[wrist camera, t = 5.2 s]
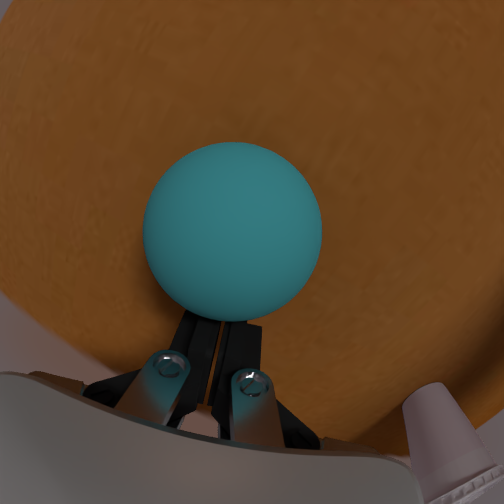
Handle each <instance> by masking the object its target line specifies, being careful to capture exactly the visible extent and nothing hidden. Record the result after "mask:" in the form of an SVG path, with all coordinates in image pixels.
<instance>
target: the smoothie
mask: <svg viewBox="0 0 504 504" xmlns="http://www.w3.org/2000/svg"><path fill="white" fill-rule="evenodd" d="M402 411H403V416H404V421H405V427H406V432H407V438H408V445H409V451H410V459H411V465H412V471H413V473H414V474H415V476H416V478H417V481H418V483H419V486H420V488H421V492H422V495H423V498H424V502H425V504H469V503H470V502H472V501H473V500H475V499H476V498H478V497H479V496H481V495H482V494H483V493H485V492H486V491H488V490H489V489H491V488H492V487H493V486H495V485H496V484H497V483H499V482H500V481H501V480H502V479H503V478H504V469H503V464H500V465H497V464H496V463H495V461H494V459H493V457H492V456H491V454H490V452H489V451H488V449H487V447H486V446H485V444H484V443H483V441H482V440H481V438H480V437H479V435H478V433H477V432H476V430H475V429H474V427H473V426H472V424H471V423H470V421H469V420H468V418H467V417H466V415H465V414H464V412H463V411H462V410H461V408H460V407H459V405H458V404H457V402H456V401H455V400H454V398H453V397H452V395H451V394H450V393H449V391H448V390H447V388H446V387H445V386H444V384H443V383H440V382H435V383H431V384H428V385H425V386H423V387H421V388H419V389H418V390H416V391H415V392H413V393H412V394H411V395H410V396H409V397H408V398H407V399H406V400H405V401H404V403H403V405H402Z"/></svg>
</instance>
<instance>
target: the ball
mask: <svg viewBox="0 0 504 504" xmlns="http://www.w3.org/2000/svg"><path fill="white" fill-rule="evenodd" d="M321 241H322V223H321V216H320V211H319V207H318V204H317V201H316V198H315V196H314V194H313V192H312V190H311V188H310V186H309V184H308V183H307V181H306V180H305V179H304V177H303V176H302V175H301V174H300V172H299V171H298V170H297V169H296V168H295V167H294V166H293V165H292V164H290V163H289V162H288V161H287V160H285V159H284V158H283V157H281V156H279V155H278V154H276V153H274V152H272V151H270V150H268V149H265V148H262V147H260V146H257V145H253V144H248V143H240V142H225V143H218V144H212V145H209V146H206V147H202V148H200V149H197V150H195V151H193V152H191V153H189V154H187V155H186V156H184V157H183V158H181V159H180V160H178V161H177V162H176V163H175V164H174V165H172V166H171V167H170V168H169V169H168V170H167V171H166V172H165V174H164V175H163V176H162V177H161V178H160V180H159V181H158V183H157V184H156V186H155V188H154V189H153V191H152V194H151V196H150V198H149V201H148V203H147V206H146V210H145V214H144V221H143V244H144V249H145V254H146V258H147V261H148V264H149V266H150V269H151V271H152V273H153V275H154V276H155V278H156V280H157V281H158V283H159V284H160V286H161V287H162V288H163V290H164V291H165V292H166V293H167V294H168V295H169V296H170V297H171V298H172V299H173V300H174V301H176V302H177V303H178V304H180V305H181V306H183V307H184V308H185V309H187V310H189V311H191V312H193V313H195V314H197V315H199V316H202V317H205V318H209V319H213V320H218V321H228V322H237V321H246V320H251V319H255V318H259V317H262V316H265V315H267V314H269V313H271V312H273V311H275V310H277V309H279V308H280V307H282V306H283V305H285V304H286V303H287V302H289V301H290V300H291V299H292V298H293V297H294V296H295V295H296V294H297V293H298V292H299V291H300V290H301V289H302V288H303V286H304V285H305V283H306V282H307V280H308V279H309V277H310V275H311V274H312V272H313V270H314V267H315V265H316V263H317V259H318V256H319V252H320V248H321Z"/></svg>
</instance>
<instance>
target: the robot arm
mask: <svg viewBox="0 0 504 504" xmlns="http://www.w3.org/2000/svg"><path fill="white" fill-rule="evenodd" d="M220 326H221V321H218V320H213V319H209V318H205V317H202V316H199V315H197V314H195V313H193V312H191V311H189V310H187V309H186V311H185V313H184V315H183V317H182V320H181V322H180V324H179V327H178V329H177V331H176V334H175V336H174V339H173V341H172V343H171V346H170V348H169V350H161V351H158V352H156V353H154V354H153V355H152V356H151V357H150V358H149V360H148V361H147V362H146V364H145V365H144V366H143V368H142V369H139V370H136V371H132V372H129V373H126V374H122V375H119V376H116V377H113V378H109V379H105V380H102V381H98V382H95V383H92V384H91V385H85V384H84V383H83V381H78V380H73V379H69V378H65V377H60V376H57V375H52V374H49V373H45V372H41V371H34V372H30V373H29V374H24V373H18V372H12V371H3V372H0V504H425V502H424V498H423V495H422V492H421V488H420V486H419V483H418V481H417V478H416V476H415V474H414V473H413V471H412V470H411V469H410V467H409V466H407V465H406V464H405V463H403V462H401V461H399V460H396V459H394V458H391V457H387V456H384V455H380V454H379V452H378V451H377V450H376V449H374V448H373V447H370V446H367V445H361V444H356V443H351V442H346V441H342V440H337V439H333V438H328V437H324V438H323V439H322V438H318V436H317V435H316V434H315V433H314V432H313V431H312V430H311V429H309V428H308V427H307V426H306V425H305V424H304V423H302V422H301V421H300V420H299V419H298V418H297V417H296V416H294V415H293V414H292V413H291V412H290V411H289V410H288V409H287V408H285V407H284V406H283V405H282V404H281V403H280V402H279V401H278V400H277V399H276V397H275V391H274V386H273V383H272V380H271V379H270V378H269V377H268V376H267V375H266V374H265V373H263V372H261V371H260V359H261V339H262V327H261V326H257V325H252V324H247V320H246V321H237V322H228V321H225V325H224V330H223V334H222V339H221V343H220V348H219V352H218V357H217V361H216V366H215V371H214V375H213V380H212V385H211V389H210V394H209V399H208V404H207V405H208V406H212V411H211V415H212V416H213V417H214V418H215V419H216V421H217V422H218V438H214V437H209V436H205V435H200V434H195V433H191V432H187V431H183V430H179V429H180V427H181V425H182V422H183V420H184V417H185V415H186V414H189V413H191V412H193V411H195V410H196V407H197V403H199V404H203V401H204V396H205V392H206V388H207V383H208V379H209V374H210V370H211V366H212V361H213V357H214V353H215V348H216V344H217V340H218V335H219V330H220Z"/></svg>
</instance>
